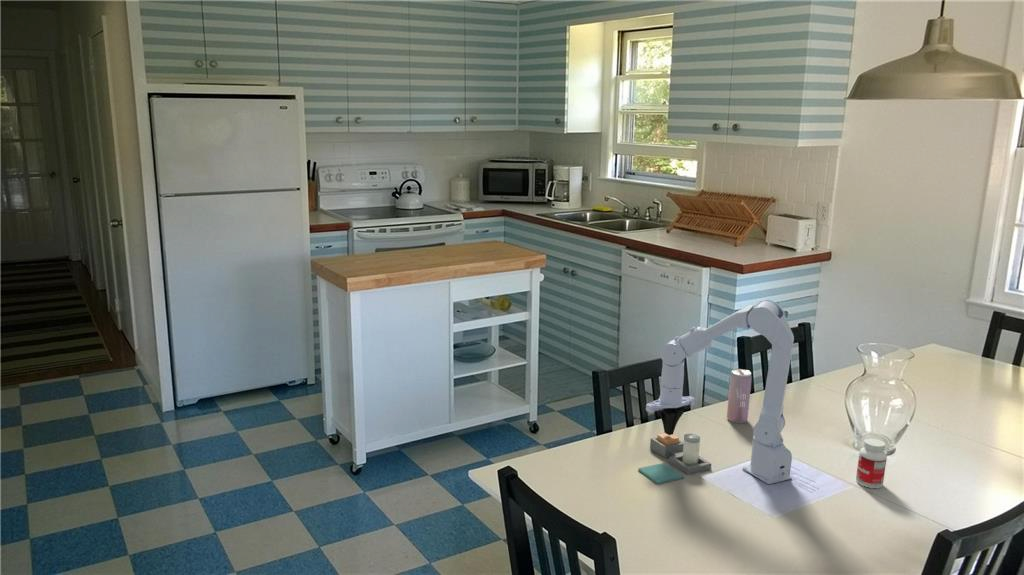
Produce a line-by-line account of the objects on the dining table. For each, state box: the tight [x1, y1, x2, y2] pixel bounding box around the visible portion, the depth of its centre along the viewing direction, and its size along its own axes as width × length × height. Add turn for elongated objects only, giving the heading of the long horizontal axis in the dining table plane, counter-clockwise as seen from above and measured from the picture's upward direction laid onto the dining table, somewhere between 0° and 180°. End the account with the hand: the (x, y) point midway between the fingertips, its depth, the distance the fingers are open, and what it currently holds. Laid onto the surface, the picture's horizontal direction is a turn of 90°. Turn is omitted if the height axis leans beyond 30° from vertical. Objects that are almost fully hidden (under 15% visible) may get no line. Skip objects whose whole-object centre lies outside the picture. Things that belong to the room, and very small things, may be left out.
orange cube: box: [656, 433, 680, 446], centre depth 207 cm, size 4×4×4 cm
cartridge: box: [682, 433, 701, 466], centre depth 198 cm, size 4×4×8 cm
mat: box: [637, 462, 685, 485], centre depth 194 cm, size 8×8×1 cm
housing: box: [649, 436, 712, 475], centre depth 203 cm, size 16×8×3 cm, turn 26°
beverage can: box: [726, 368, 752, 424], centre depth 229 cm, size 6×6×15 cm
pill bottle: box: [855, 438, 888, 489], centre depth 191 cm, size 6×6×11 cm
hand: (668, 433), depth 206 cm, fingers closed
